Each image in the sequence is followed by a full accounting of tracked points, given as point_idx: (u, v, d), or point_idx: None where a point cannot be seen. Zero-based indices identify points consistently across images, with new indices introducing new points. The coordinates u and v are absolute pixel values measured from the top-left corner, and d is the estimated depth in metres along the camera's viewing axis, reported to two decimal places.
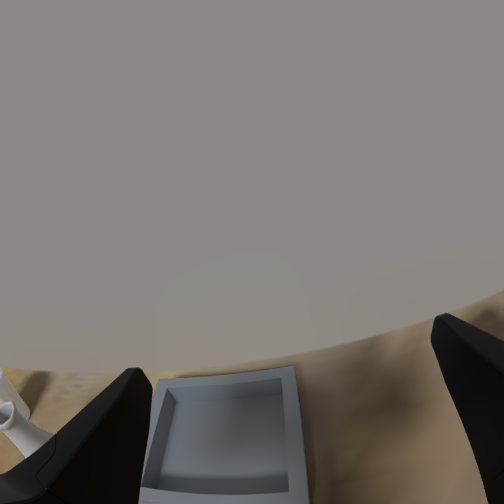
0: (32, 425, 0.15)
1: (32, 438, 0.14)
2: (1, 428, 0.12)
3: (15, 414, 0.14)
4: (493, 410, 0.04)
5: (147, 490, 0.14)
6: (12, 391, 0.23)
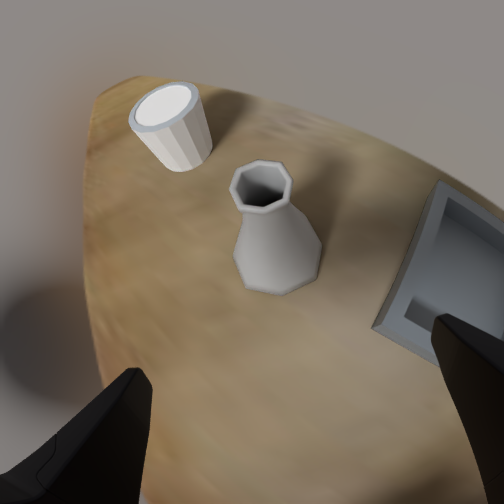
0: None
1: (288, 222, 0.16)
2: (255, 213, 0.14)
3: (291, 190, 0.14)
4: (493, 410, 0.04)
5: (409, 324, 0.17)
6: (203, 117, 0.24)
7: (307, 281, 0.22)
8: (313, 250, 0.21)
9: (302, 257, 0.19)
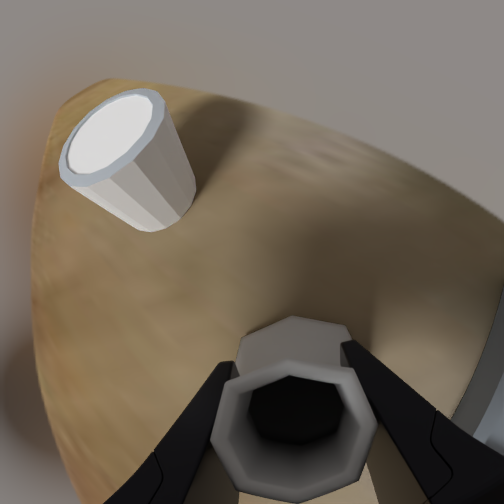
0: None
1: (336, 433, 0.07)
2: None
3: (368, 443, 0.04)
4: (381, 458, 0.04)
5: None
6: (177, 150, 0.15)
7: None
8: None
9: None
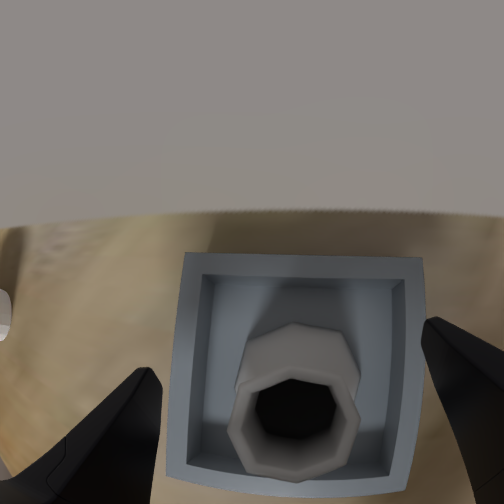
0: None
1: (330, 427, 0.08)
2: None
3: (353, 434, 0.06)
4: (482, 416, 0.04)
5: (197, 470, 0.12)
6: None
7: None
8: (351, 398, 0.12)
9: None
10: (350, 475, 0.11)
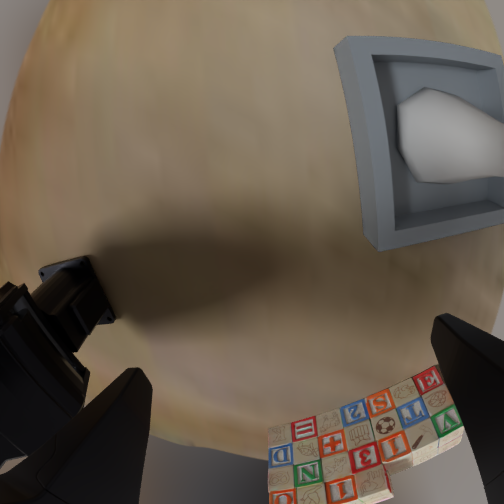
0: None
1: (496, 174, 0.10)
2: None
3: None
4: (493, 410, 0.04)
5: (370, 64, 0.12)
6: None
7: (414, 173, 0.17)
8: (448, 181, 0.15)
9: (448, 175, 0.14)
10: None
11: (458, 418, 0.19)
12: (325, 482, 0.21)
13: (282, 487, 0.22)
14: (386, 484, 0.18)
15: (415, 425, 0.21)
